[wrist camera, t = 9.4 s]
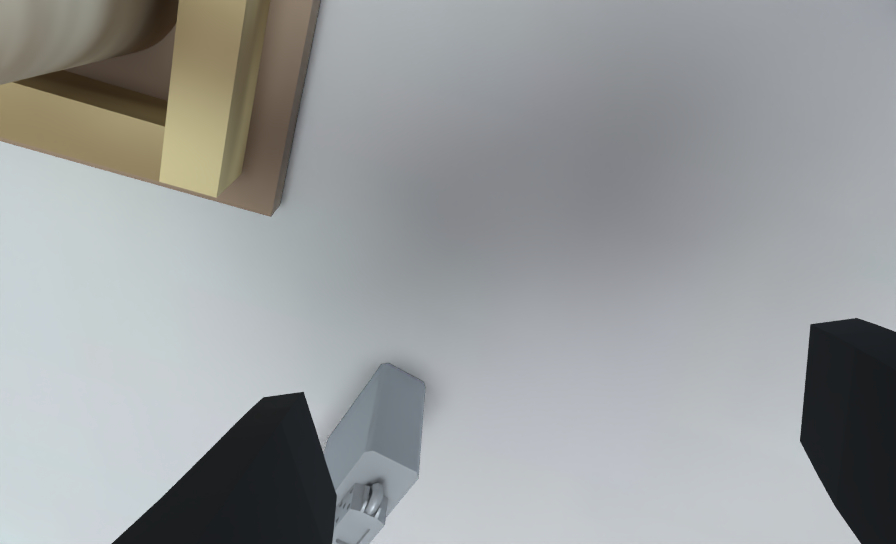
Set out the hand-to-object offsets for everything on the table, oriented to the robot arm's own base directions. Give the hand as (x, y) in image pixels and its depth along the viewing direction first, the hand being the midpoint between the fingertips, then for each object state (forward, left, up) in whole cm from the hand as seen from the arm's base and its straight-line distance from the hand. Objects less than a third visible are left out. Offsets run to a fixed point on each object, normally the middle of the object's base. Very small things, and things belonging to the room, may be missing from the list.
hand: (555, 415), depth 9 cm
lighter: (+9, +6, -11) cm, 15 cm away
